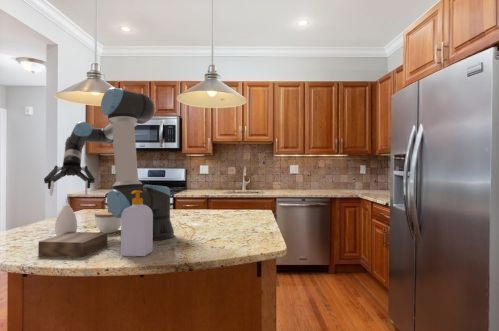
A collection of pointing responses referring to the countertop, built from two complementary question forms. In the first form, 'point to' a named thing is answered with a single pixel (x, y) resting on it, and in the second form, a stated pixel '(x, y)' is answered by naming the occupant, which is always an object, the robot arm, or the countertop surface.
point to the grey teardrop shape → (65, 220)
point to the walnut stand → (72, 244)
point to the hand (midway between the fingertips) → (68, 193)
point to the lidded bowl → (107, 222)
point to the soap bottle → (137, 228)
